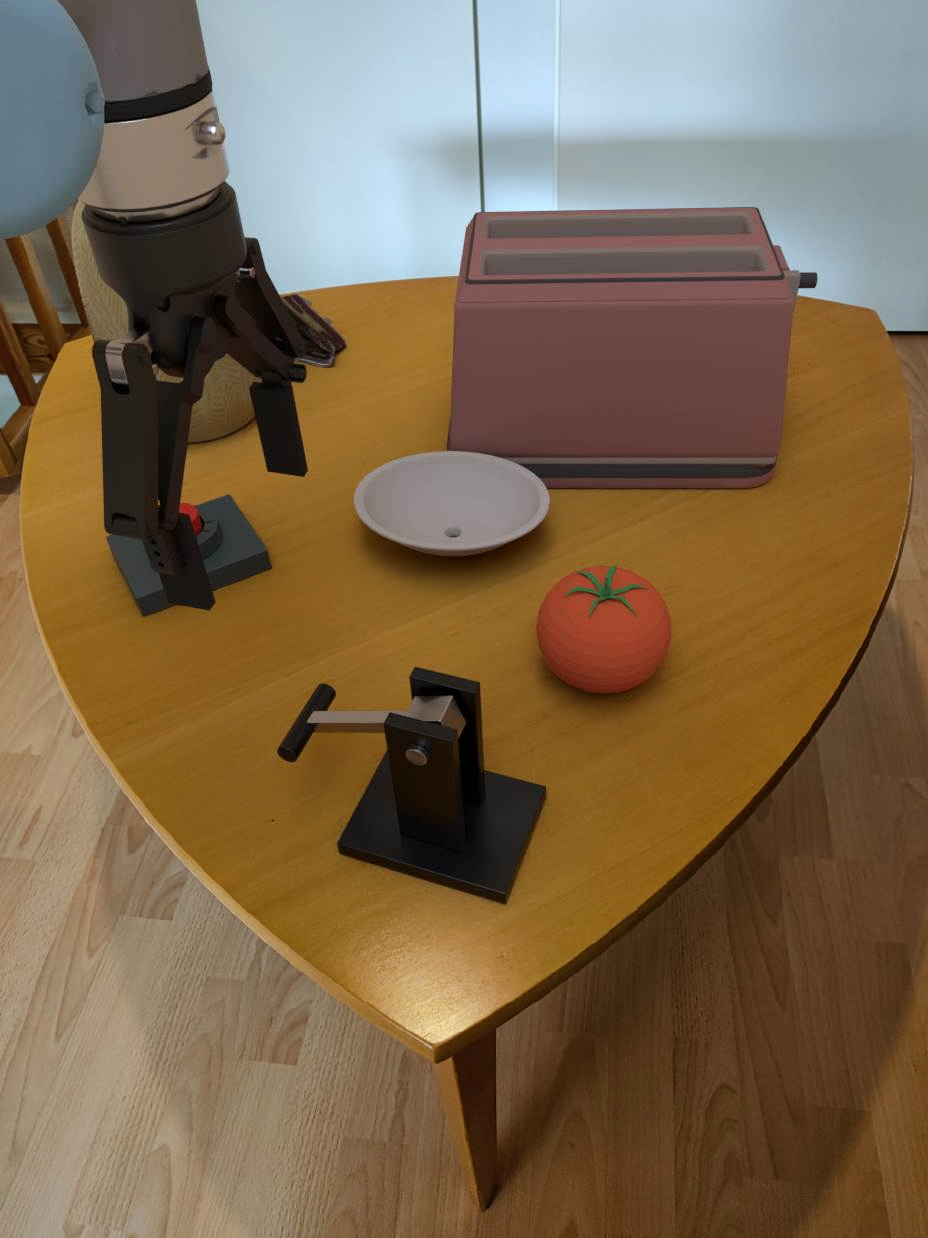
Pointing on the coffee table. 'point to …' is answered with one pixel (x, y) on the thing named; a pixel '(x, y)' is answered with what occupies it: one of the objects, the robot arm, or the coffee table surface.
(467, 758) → the bracket
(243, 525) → the control block
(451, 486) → the dish
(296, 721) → the lever
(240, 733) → the coffee table surface
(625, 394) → the toaster
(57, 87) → the robot arm
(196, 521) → the button
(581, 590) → the tomato
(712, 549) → the coffee table surface
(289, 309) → the chocolate cake
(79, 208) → the vase
